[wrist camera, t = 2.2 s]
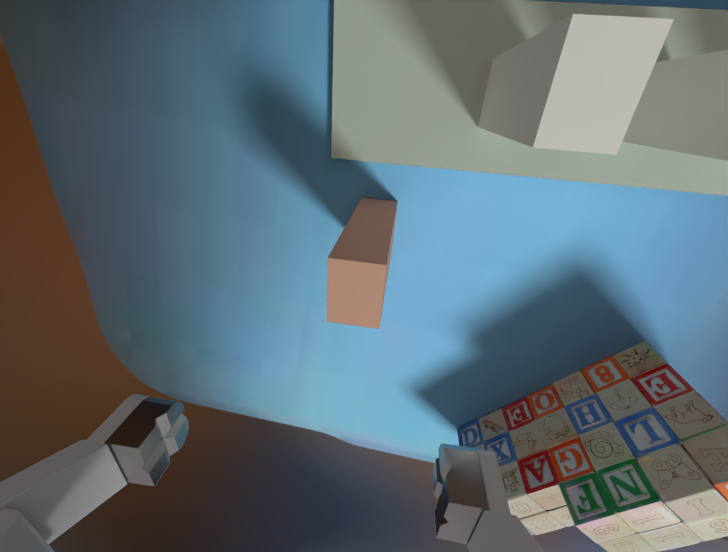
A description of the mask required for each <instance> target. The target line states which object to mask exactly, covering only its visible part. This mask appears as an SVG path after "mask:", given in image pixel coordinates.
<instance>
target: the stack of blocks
mask: <svg viewBox="0 0 728 552" xmlns="http://www.w3.org/2000/svg"><path fill="white" fill-rule="evenodd" d="M457 430H458V438H459V446H465V447H472V448H475V449H481V450H489V451H493V452H494V453H495V455H496V457H497V461H498V465H499V469H500V473H501V477H502V481H503V485H504V489H505V493H506V497H507V501H508V505H509V509H510V513H511V515H516V516H517V517H518V518H519V520H520V521H521V522H522V523H523V525H524V526H525V527H526V529H527V530H528V531H529V533H530V534H531V535H534V534H535V535H539V534H542V533H546V532H549V531H554V530H557V529H561V528H564V527H568V526H572V525H575V526H576V527H577V528H579V529H580V530H581V531H582V532H583V533H585V534H586V535H587V536H588V537H589V538H591V539H592V540H593V541H594V542H596V543H598V544H599V545H600V546H601V547H603V548H604V549H605V550H606V551H608V552H657V551H664V550H670V549H674V548H679V547H683V546H688V545H692V544H696V543H699V542H701V541H707V540H712V539H717V538H721V537H725V536H728V422H727V421H726V420H725V419H724V418H723V417H722V416H721V415H720V414H718V412H717V411H716V410H715V409H714V408H713V407H712V406H711V405H710V404H709V403H708V402H707V401H706V400H705V399H704V398H703V397H702V396H701V395H700V394H699V393H697V392H696V391H695V390H694V389H693V388H692V387H691V386H690V385H689V384H688V383H687V382H686V381H685V380H684V379H683V378H682V377H681V376H680V375H679V374H678V373H677V372H676V371H675V370H674V369H673V368H672V367H671V366H670V365H669V364H667V362H666V361H665V360H664V359H663V358H662V357H661V356H660V355H659V354H658V353H657V352H656V351H655V350H654V349H653V348H652V347H651V346H650V345H649V344H648V343H647V342H646V341H643V342H641V343H639V344H637V345H635V346H633V347H630V348H628V349H626V350H624V351H622V352H620V353H617V354H615V355H613V356H609V357H607V358H605V359H603V360H601V361H599V362H596V363H594V364H592V365H590V366H588V367H586V368H584V369H582V370H580V371H577V372H575V373H573V374H570V375H568V376H566V377H564V378H562V379H560V380H558V381H555V382H554V383H553V384H551V385H549V386H547V387H545V388H543V389H541V390H539V391H537V392H535V393H532V394H530V395H528V396H527V397H525V398H523V399H521V400H518V401H516V402H514V403H512V404H510V405H508V406H506V407H504V408H503V409H498V410H496V411H494V412H492V413H490V414H488V415H485V416H483V417H481V418H479V419H477V420H475V421H473V422H470V423H468V424H466V425H464V426H462V427H460V428H458V429H457Z"/></svg>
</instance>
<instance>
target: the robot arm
mask: <svg viewBox="0 0 728 552" xmlns="http://www.w3.org/2000/svg"><path fill="white" fill-rule="evenodd" d="M183 410H184V407H183V404H182V402H177V401H171V400H166V399H160V398H154V397H149V396H143V395H137V394H134V395H132V396H130V397H128V398H127V399H126V400H125V401H124V402H123V403H122V404H121V405H120V406H119V407H118V408H117V409H116V410H115V411H114V413H112V414H111V415H110V416H109V418H107V419H106V421H105V422H104V423H103V424H102V425H101V426H100V427H99V428H98V429H97V430H96V431H95V432H94V433H93V434H92V435H91V436H90V437H89V438H88V439H87V440H80V441H79V442H77V443H75V444H73V445H71V446H69V447H67V448H65V449H63V450H61V451H59V452H58V453H56V454H54V455H52V456H50V457H48V458H46V459H44V460H42V461H40V462H38V463H37V464H35V465H33V466H31V467H29V468H27V469H25V470H23V471H21V472H20V473H18V474H16V475H14V476H12V477H10V478H8V479H6V480H4V481H2V482H0V552H54V551H53V550H52V548H50V546H49V545H48V544H49V543H51V542H52V541H53V540H55V539H56V538H57V537H58V536H60V535H61V534H62V533H64V532H65V531H66V530H68V529H69V528H70V527H72V526H73V525H74V524H76V523H77V522H78V521H79V520H81V519H82V518H83V517H85V516H86V515H87V514H89V513H90V512H91V511H93V510H94V509H95V508H96V507H98V506H99V505H100V504H102V503H103V502H104V501H106V500H107V499H108V498H109V497H111V496H112V495H114V494H115V493H116V492H117V491H119V490H120V489H121V488H123V487H124V486H125V485H126V484H127V482H129V483H137V484H143V485H149V486H155V484H156V483H157V482H158V480H159V479H160V477H161V476H162V474H163V473H164V471H165V470H166V468H167V467H168V466H169V456H171V455H172V454H174V453H175V452H177V451H178V450H179V449H180V448H181V446H182V444H183V443H184V441H185V439H186V436H187V433H188V429H189V423H188V419H187V418H186V417H185V416H184V415H183V414H182V412H183ZM433 491H434V492H433V493H434V495H435V497H436V498H437V500H438V501H437V505H436V508H435V524H436V537H437V538H440V539H444V540H449V541H454V542H459V543H463V544H468V545H467V547H468V549H469V551H470V552H544V551H543V550H542V548H541V547H540V546H539V544H538V543H537V542H536V540H535V539H534V538H533V537H532V535H531V534H530V533H529V531H528V530H527V529H526V527H525V526H524V525H523V523H522V522H521V521H520V520H519V518H518V517H517V516H516V515H511V513H510V509H509V505H508V501H507V497H506V493H505V489H504V485H503V481H502V477H501V473H500V469H499V465H498V461H497V457H496V455H495V453H494V452H493V451H489V450H481V449H475V448H472V447H465V446H457V445H450V444H443V443H442V444H441V445H440V447H439V458H438V459H436V461H435V465H434V472H433Z"/></svg>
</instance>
